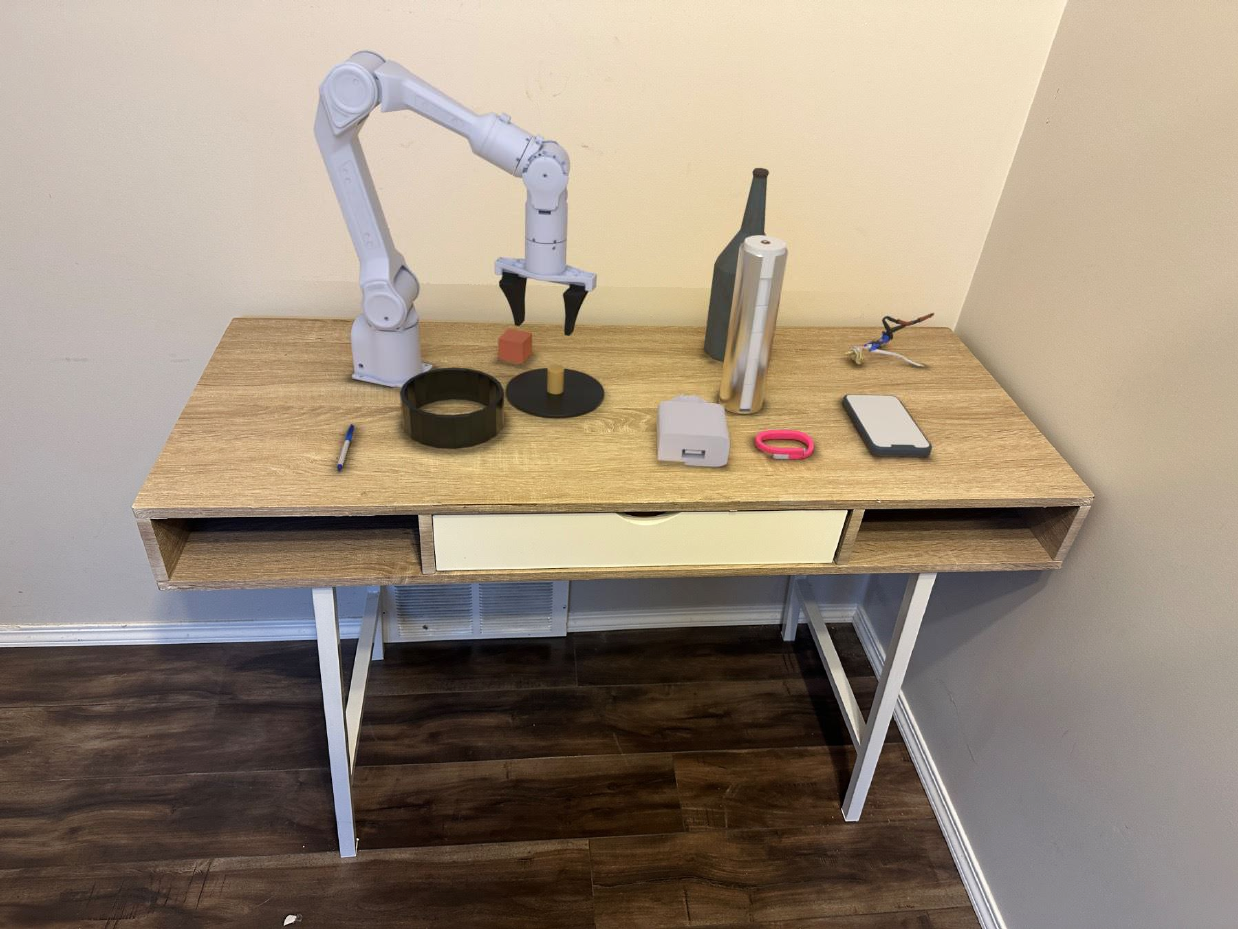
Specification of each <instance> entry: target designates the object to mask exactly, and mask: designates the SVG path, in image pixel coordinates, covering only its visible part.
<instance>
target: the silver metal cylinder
mask: <svg viewBox="0 0 1238 929" xmlns="http://www.w3.org/2000/svg"><path fill="white" fill-rule="evenodd" d="M788 256H789V249H788V248H787V242H786V241H784V240H782V239H781V238H778V237H775V236H771V235H766V236H763V235H757V236H750V237H748V238H746V239H745V241H744V242H743V243H742V244H741V245H740V248H739V255H738V263H737V270H736V277H735V284H734V292H733V299H732V306H731V313H730V321H729V328H728V335H727V342H726V350H725V357H724V362H723V363H722V364H723V365H722V372H721V379H720V387H719V393H718V404H720V405H722V406H723V407H724V409H725V411H728V412H730V413H733V414H737V415H751V414H755V413H757V412H759V411H761V409H762V407H763V403H764V396H765V391H766V386H767V379H768V374H769V369H770V362H771V355H772V350H773V345H774V344H773V343H774V339H775V333H776V327H777V320H778V315H779V309H780V303H781V297H782V291H783V285H784V279H785V272H786V268H787V267H786V266H787V263H788V262H787V261H788Z"/></svg>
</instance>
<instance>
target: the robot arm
mask: <svg viewBox="0 0 1238 929" xmlns="http://www.w3.org/2000/svg"><path fill="white" fill-rule="evenodd" d="M318 94H319V96H318V103H317V108H316V112H315V119H314V125H313V135H314V138H315V141H316V144H317V147H318V149H319V152H320V155H321V157H322V161H323V164H324V166H325V169H326V171H327V174H328V178H329V180H330V183H331V186H332V188H333V191H334V194H335V197H336V200H337V202H338V205H339V208H340V211H341V213H342V216H343V219H344V222H345V225H346V228H347V230H348V233H349V236H350V239H351V242H352V245H353V247H354V250H355V253H356V256H357V258H358V262H359V272H358V273H359V275H358V285H359V288H360V290H361V296H362V298H361V304H360V305H361V306H360V307H361V308H360V309H361V312H362V313H360V314H358V315H357V317H356V318H355V319H354V321H353V322H352V326H351V329H350V345H351V354H352V363H353V371H354V373H353V374H351V378H352V379H353V380H358V381H362V382H367V383H371V384H375V385H379V386H384V387H385V386H386V387H391V388H395V387H399V388H402V386H403V385H404V384H405V383H406V382H407V381H408V380H409V379H410V378H412V377H414V376H416V375H418V374H420V373H423V372H426V371H430V370H432V368H433V367H434V365H433V364H430V363H427V362H422V348H421V334H420V333H421V332H420V320H419V319H420V318H419V317H420V316H419V313H418V312H417V310H416V308H415V306H414V303H415V301H416V300H417V299H418V297H419V295H420V291H421V290H420V289H421V286H420V281H419V279H418V277H417V276H416V274H415V273H414V272H413V270H411V269H410V267H409V266H408V264H407V261H406V259H405V256H404V255H403V254H402V253H401V252H400V251H399V250H398V249H397V248H396V246H395V243H394V241H393V237H392V234H391V231H390V228H389V224H388V222H387V218H386V216H385V213H384V210H383V207H382V204H381V200H380V198H379V195H378V192H377V189H376V186H375V183H374V181H373V176H372V174H371V171H370V168H369V165H368V162H367V158H366V156H365V153H364V150H363V147H362V144H361V141H360V136H359V134H360V132H361V131H362V129H363V127H364V126H365V124H366V122H367V120H368V118H369V117H370V114H371V112H372V111H373V110H375V108H376V107H378V106H379V105H380V113H391V112H392V113H393V112H397V111H398V112H399V111H405V110H407V111H411V112H413V113H415V114H417V115H419V116H421V117H423V118H424V119H427V120H429V121H431V122H433V123H435V124H437V125H439V126H442V127H443V128H445V129H447V130H448V131H451V132H453V133H455V134H457V135H459V136H461V137H462V138H464V139H466V140H467V141H468V144H469V146H470V150H471V152H472V153H473V154H474V155H475V156H478V157H479V158H480V159H482V160H485V162H488V163H490V164H492V165H493V166H495V167H497V168H498V169H500V170H502V171H504V172H505V173H507V174H509V175H511V176H513V177H515V178H517V179H518V178H519V179H522V183H523V185H524V187H525V188H526V201H525V203H524V258H516V257H515V258H513V257H504V256H499V257H498V258H497V259H495V260H494V274H495V275H497V276H501V279H499V281H498V287H499V288H500V290H501V292H502V293H503V295H504V296H505V298H506V300H507V303H508V305H509V308H510V311H511V314H512V318H513V323H514V326H516V327H520V326H521V325H522V324H523V323H525V321H526V292H527V291H526V289H527V283H528V279H530V280H535V281H540V282H547V283H552V284H559V285H562V286H568V288H566V289H565V291H563V292H562V298H563V305H564V329H563V332H564V336H567V337H570V336H571V335H572V334H573V333H574V330H575V326H576V322H577V319H578V317H579V316H578V315H579V312H580V311H581V307H582V306H583V303H584V301H585V299H586V297H587V296H588V294H589V292H593V291H594V290H595V289H596V288H597V280H598V274H597V273H594V272H590V271H586V270H583V269H580V268H577V267H574V266H572V265H569V264H567V250H568V249H567V248H568V247H567V246H568V218H569V204H568V202H567V200H568V197H569V196H568V195H569V193H568V189H567V188H568V183H569V179H570V178H569V175H570V170H571V160H570V159H571V158H570V156H569V153H568V152H567V150H566V149H565V148H564V147H563V146H562V145H561V144H559V143H558V142H557V140H554V139H545V137H544V136H543V135H541V134H539V133H537V134H536V135H534V134H532V133H530V132H529V131H527V130H525V129H523V128H521V127H520V126H518V125H517V124H515V123H513V122H511V119H512V116H511V115H509V114H507V113H506V112H504V111H502V112H501V113H500V115H499V114H497V113H495V112H494V111H489V112H486V113H483V114H478V113H477V112H474V111H473V110H471V109H470V108H468V107H467V106H465V105H464V104H462V103H460V102H459V101H457V100H456V99H454V98H452V97H451V96H449V94H446V93H444V92H443V91H442V90H440V89H439V88H437V87H435V86H434V85H433V84H431V83H429V82H428V81H426V80H424V79H423V78H421V77H419V76H418V75H417V74H415V73H414V72H412V71H411V70H409V69H408V68H406V67H405V66H403V65H402V64H401V63H399V62H397V61H395V60H391V59H388V60H387V59H386V58H385V57H384V56H383V55H381V54H380V53H378V52H377V51H375V50H369V49H362V50H358V51H356V52H354V53H352V54H351V55H350V56H349V57H348V58H347V59H346V60H343V61H342V62H339V63H337V64H335V65H334V66H333V67H332V68H330V70H329V71H328V73H327V74H326V76H325V77H324V78H323V80H322V81H321V83H320V84H319V86H318Z"/></svg>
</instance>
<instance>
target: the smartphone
mask: <svg viewBox="0 0 1238 929" xmlns="http://www.w3.org/2000/svg"><path fill="white" fill-rule="evenodd" d="M842 406H843V407H844V409H845V411H846V412H847V414H848V416H849V418H850V419H851V421H852V422H853V425H854V427H855V428H856V430H857V432H858V433H859V435H860V437H861V438H862V441H863V442H864V443H865V445H866V447H867V449H868V451H869V452H870V453H871V454H873V455H875V456H878V457H928V456H930V455H931V452H932V449H933V446H932V444H931V442H930V441H929V440H928V438H927V437H926V435H925V433H924V432H923V431H922V429H921V428H920V427H919V425H918V424H917V422H916V421H915V419H914V418H913V417H912V416H911V413H910V412H909V411H908V410H907V408H906V407H905V405H904V404H903V402H902V401H901V399H900V398H899V397H897V396H895V395H892V394H863V393H861V394H860V393H847V394H845V395H844V396H843V397H842Z"/></svg>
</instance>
